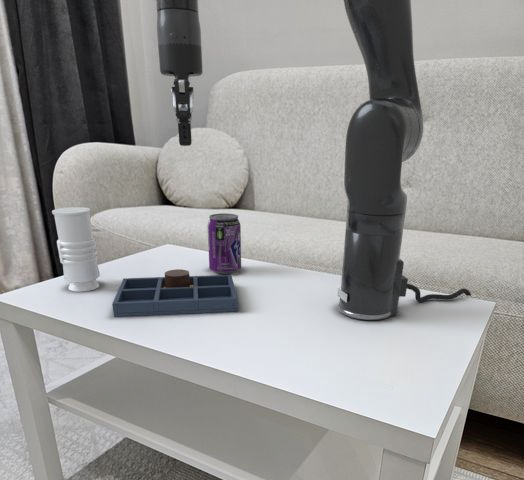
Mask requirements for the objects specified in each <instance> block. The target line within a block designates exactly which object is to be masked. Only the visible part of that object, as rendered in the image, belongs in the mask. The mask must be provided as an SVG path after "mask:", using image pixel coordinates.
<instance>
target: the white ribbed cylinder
mask: <svg viewBox="0 0 524 480" xmlns="http://www.w3.org/2000/svg"><path fill="white" fill-rule="evenodd" d="M90 213H91V208H89V207H84V206H83V207H82V206H71V207H69V206H68V207H61V208H60V207H59V208H56V209H53V210H52V211H51V214H52V215H53V216H54V217H53V218H54V222H55V228H56V233H57V238H58V239H57V240H56V247H57V251H58V257H59V262H60V264H61V265H62V270H63V279H64V281H67V282H69V284H68V290H69V291H71V292H80V293H81V292H89V291H93V290H96V289H98V288H99V287H100V284H99V282H98V281H97V279H99V278H100V277H101V274H100V273H101V272H100V269H99V265H98V259H99V258H98V257H99V256H98V255H97V254H98V251H97V249H96V248H97V244H96V243H95V242H96V238H95V237H94V235H93V228H92V222H91V214H90Z"/></svg>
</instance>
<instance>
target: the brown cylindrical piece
mask: <svg viewBox="0 0 524 480" xmlns="http://www.w3.org/2000/svg"><path fill="white" fill-rule="evenodd" d="M189 276H190V271H189V270H186V269H182V268H181V269H179V268H178V269H170V270H167V271H165V272H164V277H165V284H166V288H173V287H190V278H189Z"/></svg>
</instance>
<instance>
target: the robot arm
mask: <svg viewBox="0 0 524 480" xmlns="http://www.w3.org/2000/svg"><path fill="white" fill-rule="evenodd" d="M155 2H156V14H157V15H156V35H157V47H158V60H159V61H158V62H159V72H160V74H161V75H163V76H166V77H174V79H173V86H170V87H171V88H170V91H171V98H172V104H173V112H175V120H176V122H177V128H178V129H177V131H178V142H179V143H178V144H179V145H180V146H181V147H189V146H191V145H192V141H193V140H192V119H193V118H192V116H193V115H192V113H193V112H194V97H195V93H194V92H195V91H194V87H193V86H190V85H191V83H190V80H189V78H190V77H200V76H202V75H203V51H202V31H201V23H200V16H199V0H155ZM343 5H344V10H345V13H346V16H347V20H348V23H349V26H350V28H351V31H352V34H353V37H354V39H355V42H356V44H357V47H358V49H359V52H360V54H361V56H362V59H363V63H364V66H365V71H366V75H367V82H368V94H369V99H367V100H366V101H364V102H363V103H361V104H360V105H358V107H357V108H356V109H355V110H354V112H353V113H352V115H351V117H350V120H349V123H348V126H347V130H346V136H345V148H344V176H343V187H344V192H345V196H346V199H347V204H346V205H347V207H346V219H345V231H344V244H343V255H342V267H341V269H342V270H341V279H340V280H341V281H340V288H339V287H337V292H336V293H337V294H336V296H337V297H338V298H339V302H338V303H339V304H338V311H339V312H340V313H341V314H343V315H344V316H347V317H348V318H351V319H352V318H353V319H357V320H362V321H378V320H379V321H380V320H385V319H388V318H390V317H395V316H396V317H397V315H398V309H399V302H400V301H399V300H400V298H401V297H402V298H404V297H406V296H407V290H410V291H412V292H414V294H415V297H414V298H415V301H416V302H418V303H424V302H426V301H429V300H444V301H445V300H453V299H456V298H458V297H460V296H461V295H463V294H464V295H465V296H466V297H467V296H468V297H471V296H472V293H471V291H470V290H468V289H467V288H461V289H460V288H459V289H458V290H457V291H455V292H453V293H451V294H437V293H436V294H435V293H430V294H426V295H424V296H421V290H420V289H419V288H418V287H417V286H415V285H414V284H411V283H408V281H409V278H407V277H406V276H405V275H403V273H404V272H403V271H404V265H405V264H404V263H405V262H404V261H403V259H401V258H400V257H401V251H402V250H401V249H402V243H403V236H404V235H403V234H404V226H405V220H406V219H405V218H406V211H407V206H408V195H407V193H406V192H405V191H404V190H403V187H402V182H401V181H402V180H401V179H402V167H403V163H404V162H406V161H408V160H410V159H411V158H412V157H413V156H414V155H415V153H416V152H417V151H418V149H419V147H420V145H421V143H422V140H423V136H424V127H425V126H424V116H423V110H422V102H421V98H420V97H421V96H420V92H419V84H418V80H417V79H418V78H417V73H416V65H415V57H414V56H415V55H414V35H413V34H414V33H413V15H412V0H343Z"/></svg>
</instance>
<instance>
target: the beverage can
mask: <svg viewBox="0 0 524 480" xmlns="http://www.w3.org/2000/svg"><path fill="white" fill-rule="evenodd" d="M208 218H209V220H208V222H207V243H208V244H207V245H208V246H207V248H208V267H209V270H210V271H213V272H215V273H216V274H219V275H231V274H234V273H236V272H238V271H239V270H241V269H242V235H241V233H242V231H241V229H242V228H241V222H240V220H239V215H238V214H235V213H222V212H221V213H214V214H209V216H208Z"/></svg>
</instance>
